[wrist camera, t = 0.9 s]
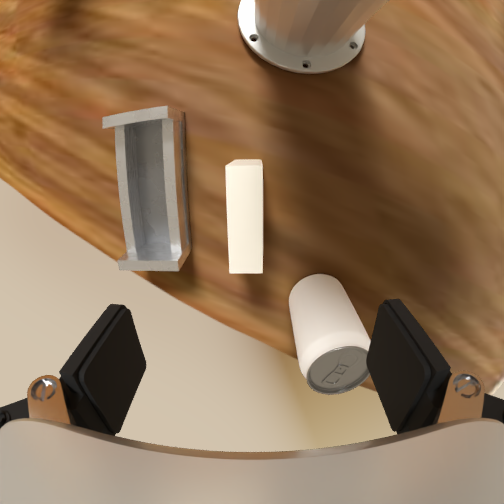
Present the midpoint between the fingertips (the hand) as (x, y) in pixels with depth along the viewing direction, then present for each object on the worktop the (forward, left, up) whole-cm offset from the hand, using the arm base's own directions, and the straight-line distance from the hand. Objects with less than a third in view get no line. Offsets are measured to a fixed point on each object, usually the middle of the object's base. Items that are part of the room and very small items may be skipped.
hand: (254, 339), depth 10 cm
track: (-3, -10, -19) cm, 22 cm away
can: (+10, +7, -20) cm, 23 cm away
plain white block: (-1, -1, -19) cm, 19 cm away
